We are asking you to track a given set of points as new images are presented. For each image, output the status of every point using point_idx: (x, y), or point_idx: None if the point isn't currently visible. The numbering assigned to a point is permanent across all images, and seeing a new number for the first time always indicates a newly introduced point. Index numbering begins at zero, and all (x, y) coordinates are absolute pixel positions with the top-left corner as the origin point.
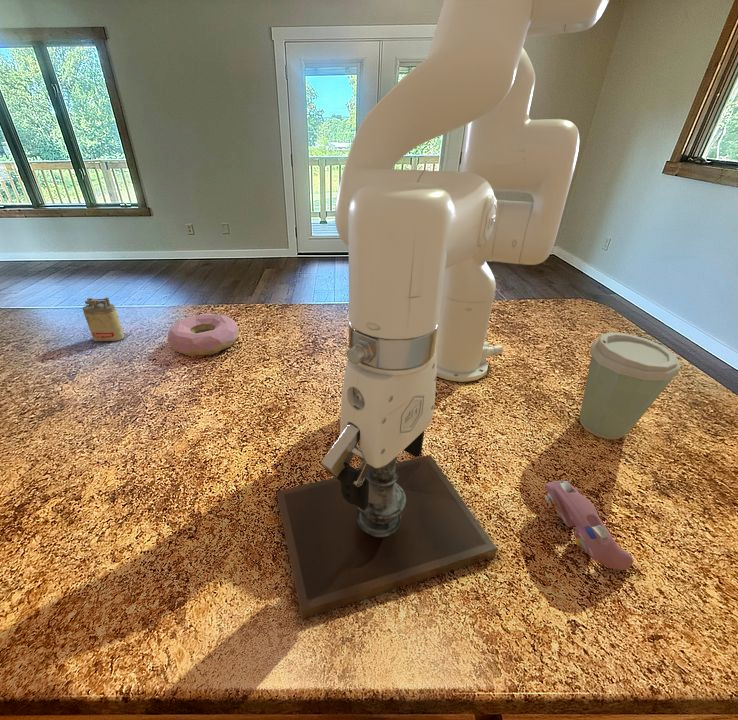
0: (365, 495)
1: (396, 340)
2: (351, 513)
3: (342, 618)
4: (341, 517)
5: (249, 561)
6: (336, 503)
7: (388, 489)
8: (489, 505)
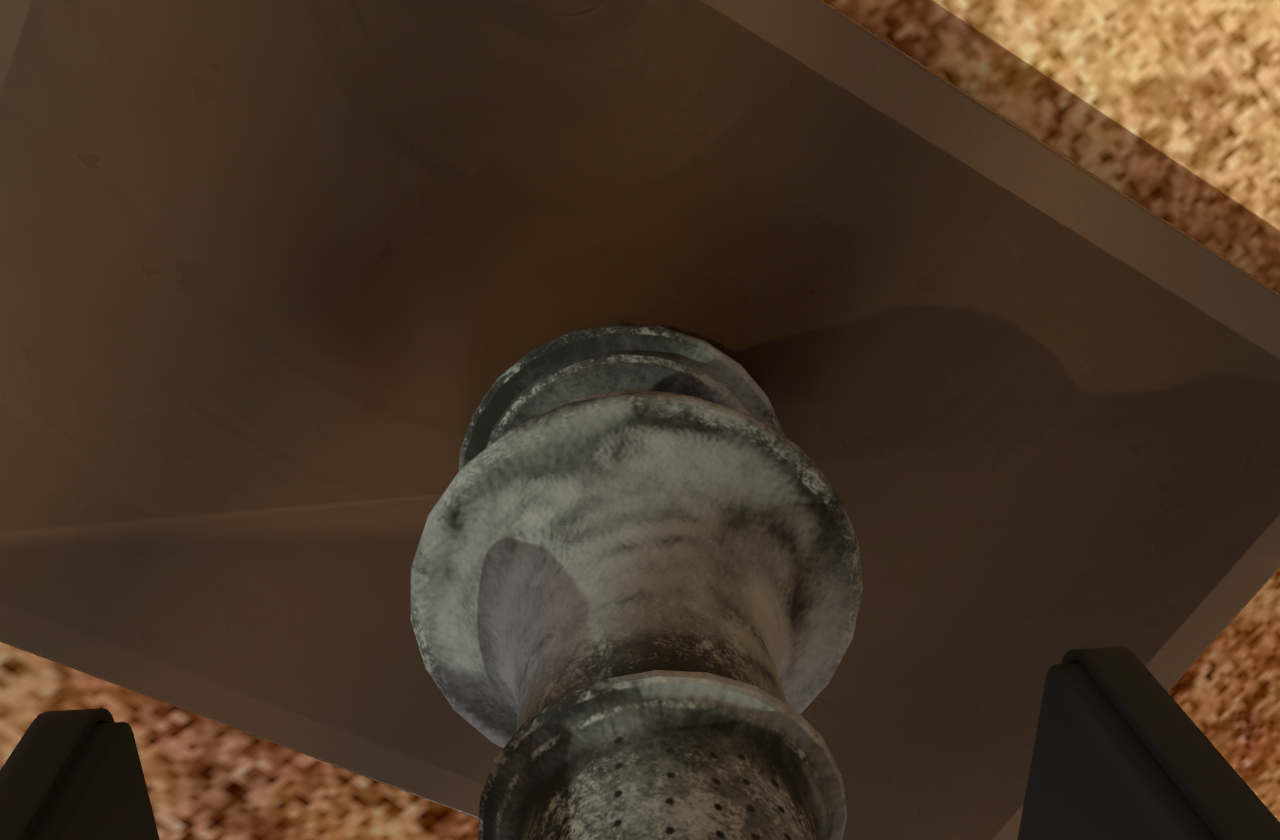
0: (1267, 810)
1: None
2: None
3: (1256, 206)
4: None
5: (1259, 748)
6: None
7: (707, 639)
8: None
